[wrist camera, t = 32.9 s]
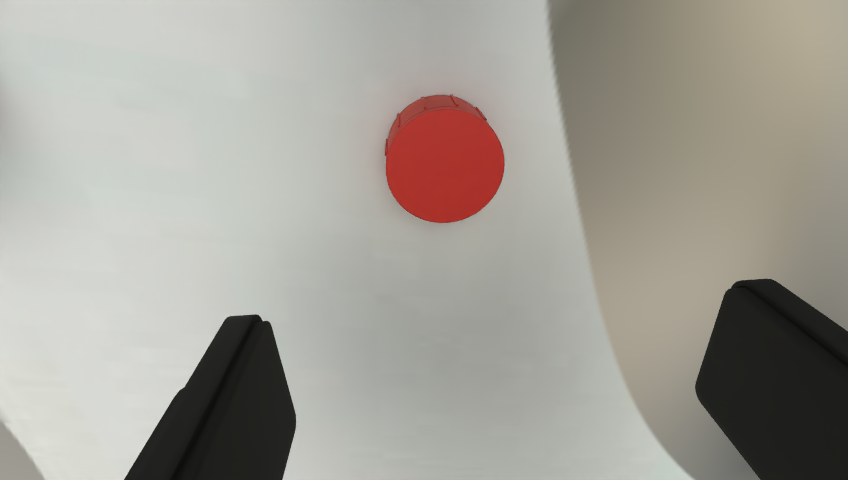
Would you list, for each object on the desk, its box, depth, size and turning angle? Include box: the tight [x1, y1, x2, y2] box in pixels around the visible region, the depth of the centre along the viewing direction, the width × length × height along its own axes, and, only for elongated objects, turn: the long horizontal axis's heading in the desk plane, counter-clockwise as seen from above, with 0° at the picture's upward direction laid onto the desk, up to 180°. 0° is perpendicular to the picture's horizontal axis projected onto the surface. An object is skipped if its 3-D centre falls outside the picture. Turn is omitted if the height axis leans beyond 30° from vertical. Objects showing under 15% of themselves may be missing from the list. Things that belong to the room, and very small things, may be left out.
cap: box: [385, 95, 504, 223], centre depth 15 cm, size 4×4×2 cm
